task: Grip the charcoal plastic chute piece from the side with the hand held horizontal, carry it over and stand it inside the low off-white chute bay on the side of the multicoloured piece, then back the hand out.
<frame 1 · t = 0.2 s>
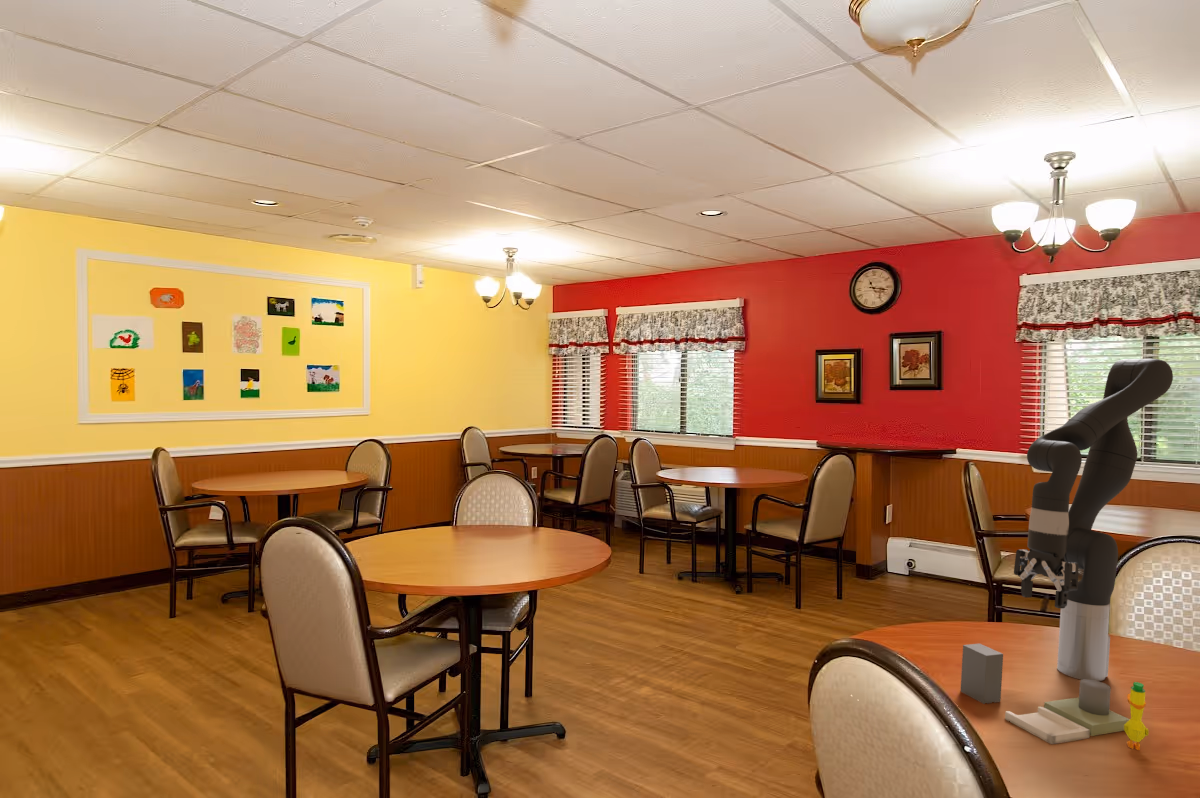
hand: (1042, 602, 161), 18 cm above the table, tool pointing down, fingers open, 8 cm apart
chute piece: (980, 696, 152), on the table
multicoloured piece: (1043, 727, 139), on the table
toy figure: (1133, 747, 133), on the table
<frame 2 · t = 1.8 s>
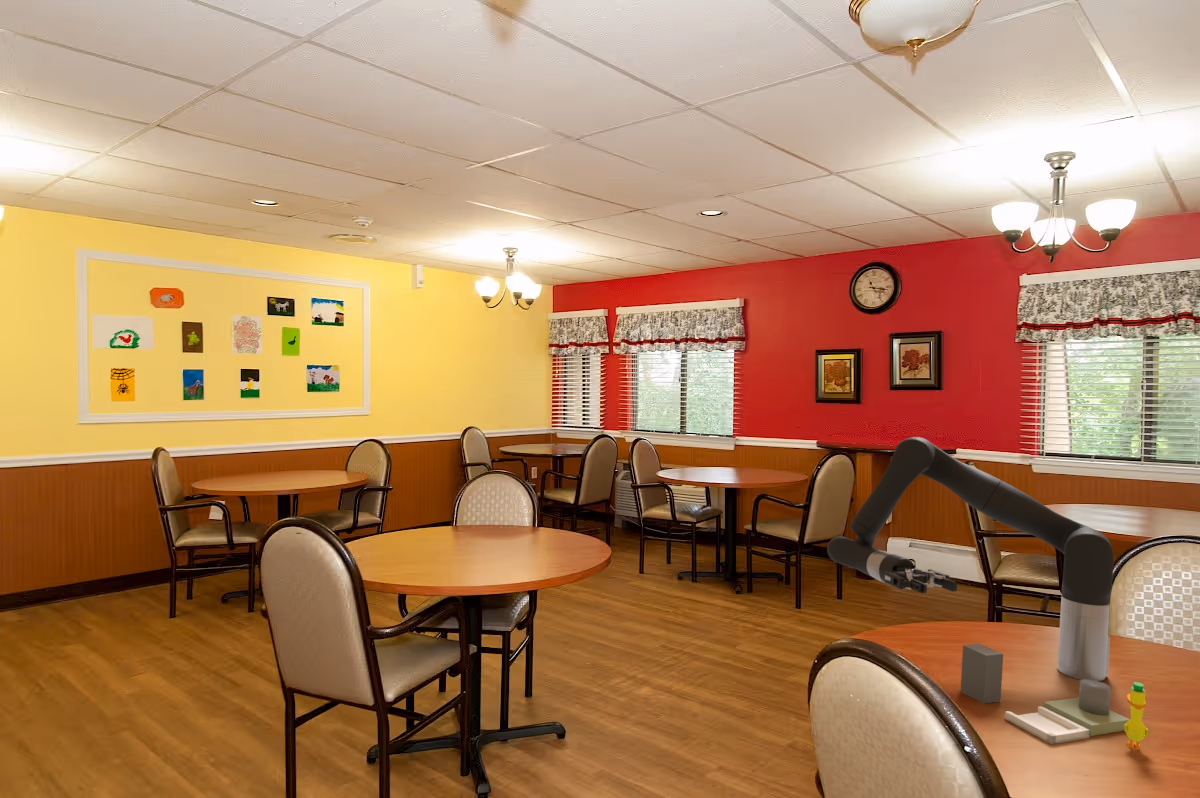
hand: (940, 588, 163), 19 cm above the table, tool horizontal, fingers open, 8 cm apart
nothing on the table moved.
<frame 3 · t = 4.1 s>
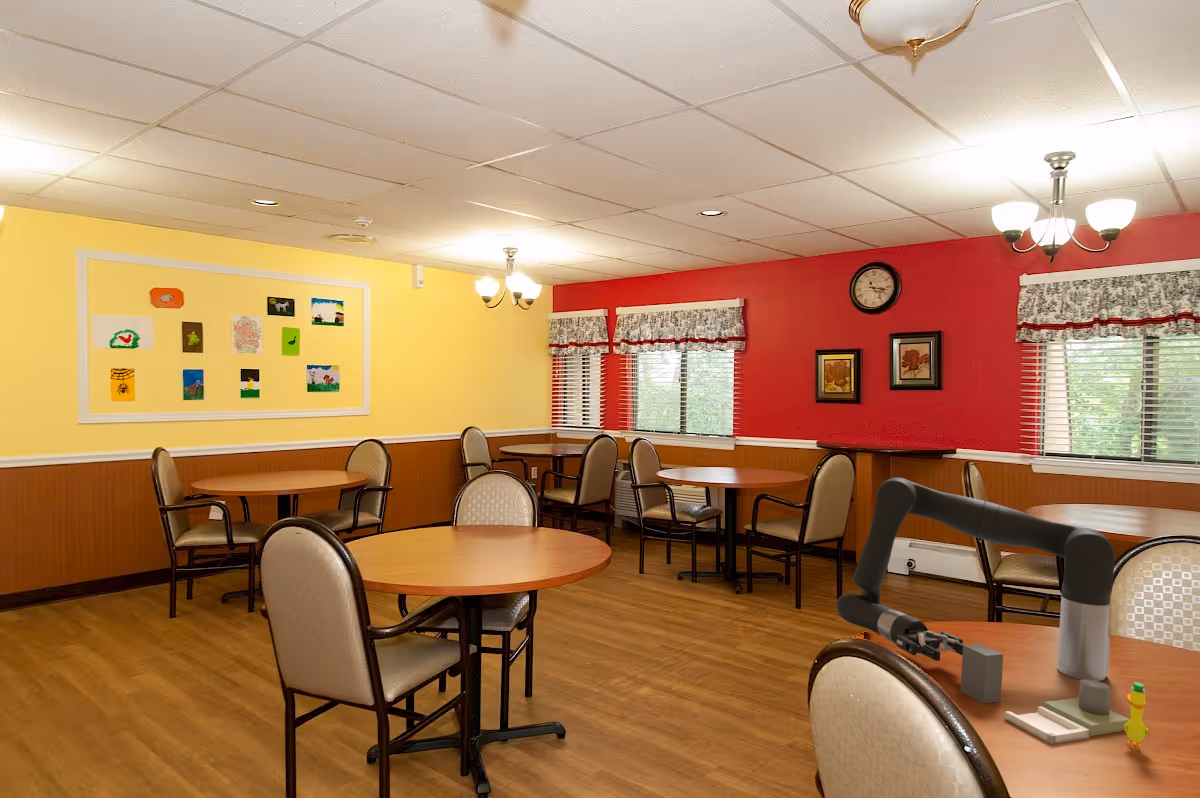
hand: (954, 654, 159), 6 cm above the table, tool horizontal, fingers open, 8 cm apart
nothing on the table moved.
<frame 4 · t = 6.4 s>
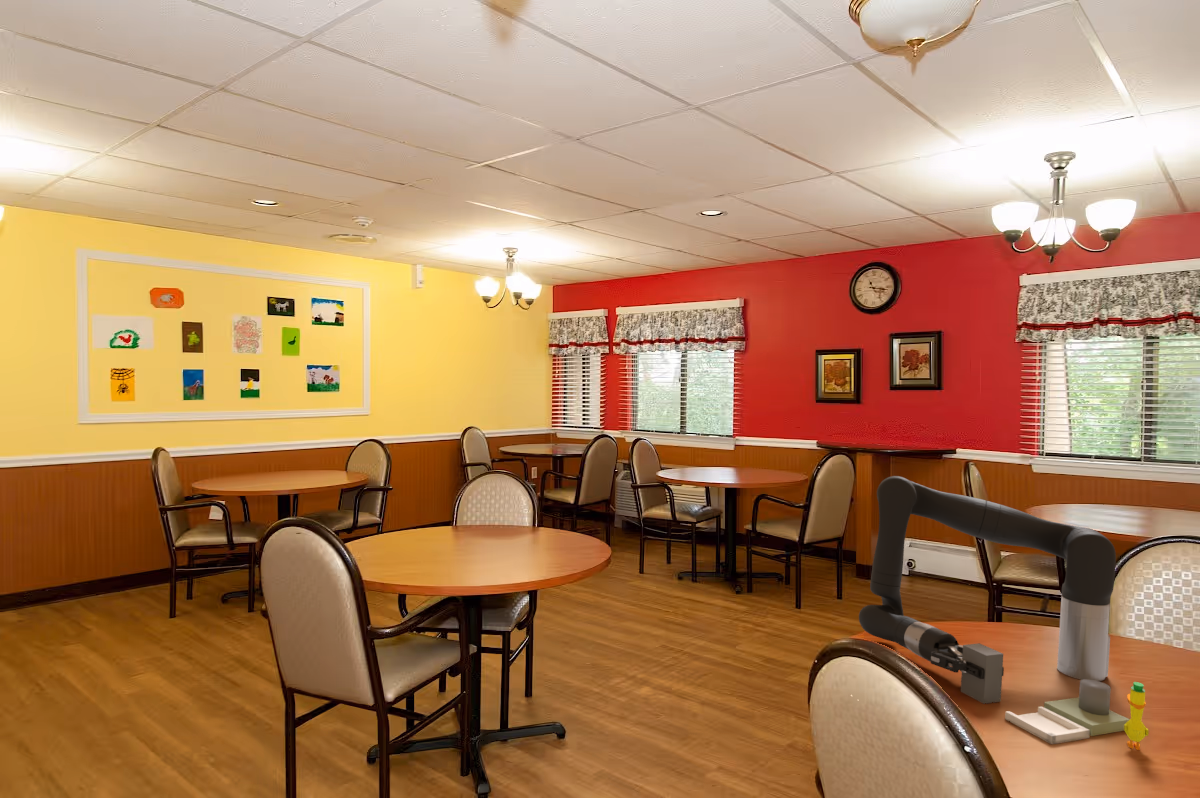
hand: (992, 673, 149), 6 cm above the table, tool horizontal, fingers closed on chute piece, 4 cm apart
chute piece: (980, 696, 152), on the table, touching gripper
everything else where it was.
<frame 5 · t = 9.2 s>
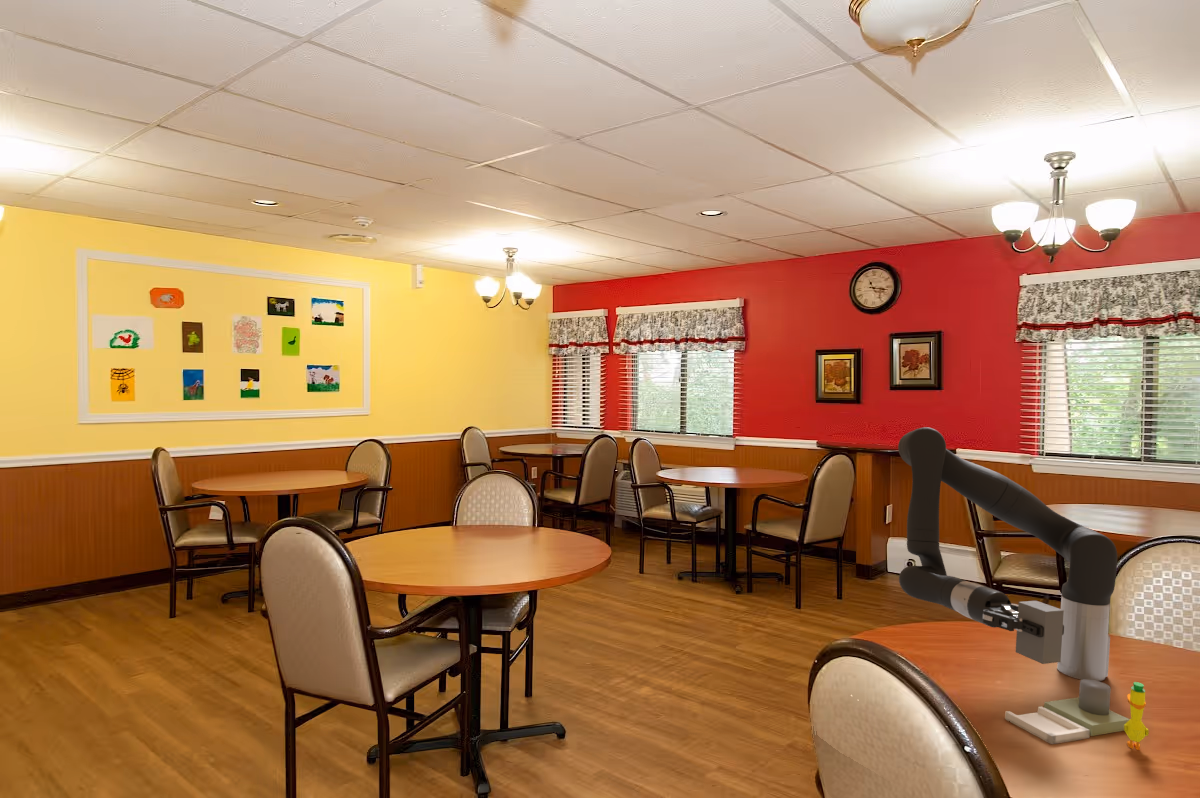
hand: (1052, 631, 138), 19 cm above the table, tool horizontal, fingers closed on chute piece, 4 cm apart
chute piece: (1037, 657, 140), point 13 cm above the table, touching gripper
everything else where it was.
when the fingers open (7 cm above the table, at t = 12.0 s): chute piece stays where it is, resting on multicoloured piece.
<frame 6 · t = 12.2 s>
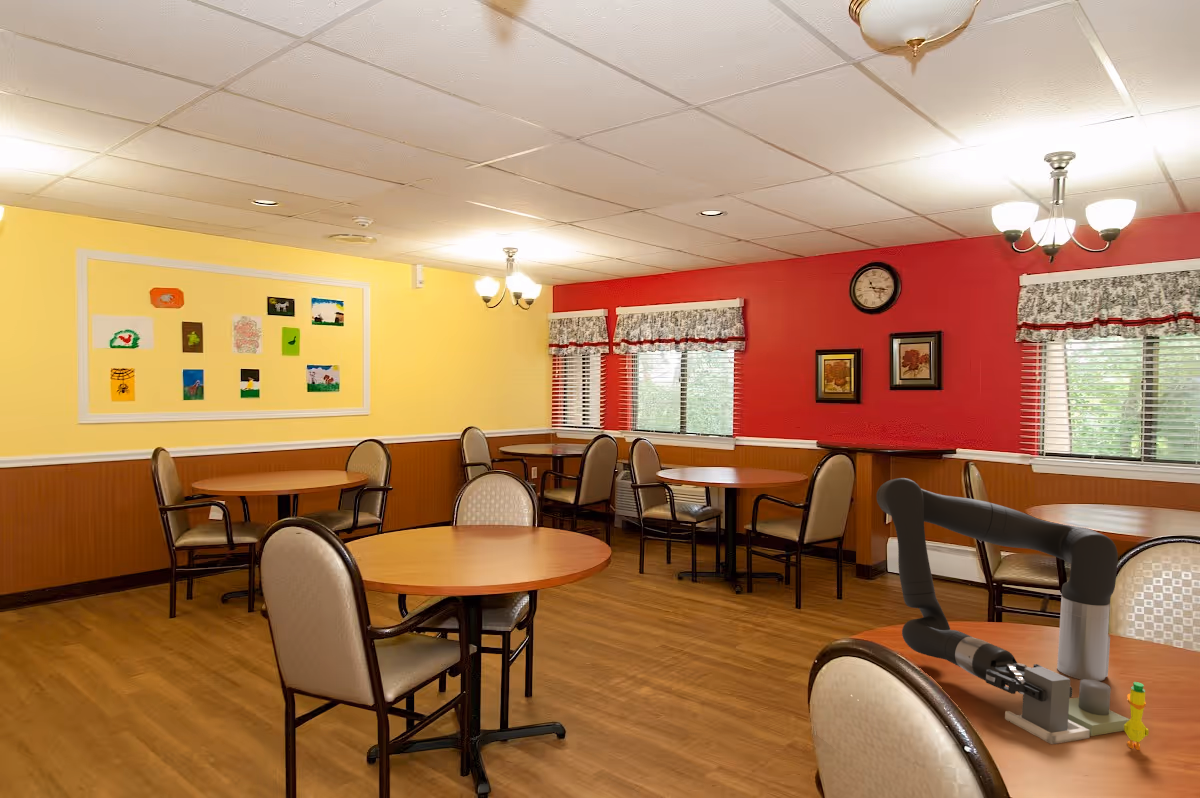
hand: (1057, 694, 136), 7 cm above the table, tool horizontal, fingers open, 6 cm apart
chute piece: (1044, 725, 139), resting on multicoloured piece
everything else where it was.
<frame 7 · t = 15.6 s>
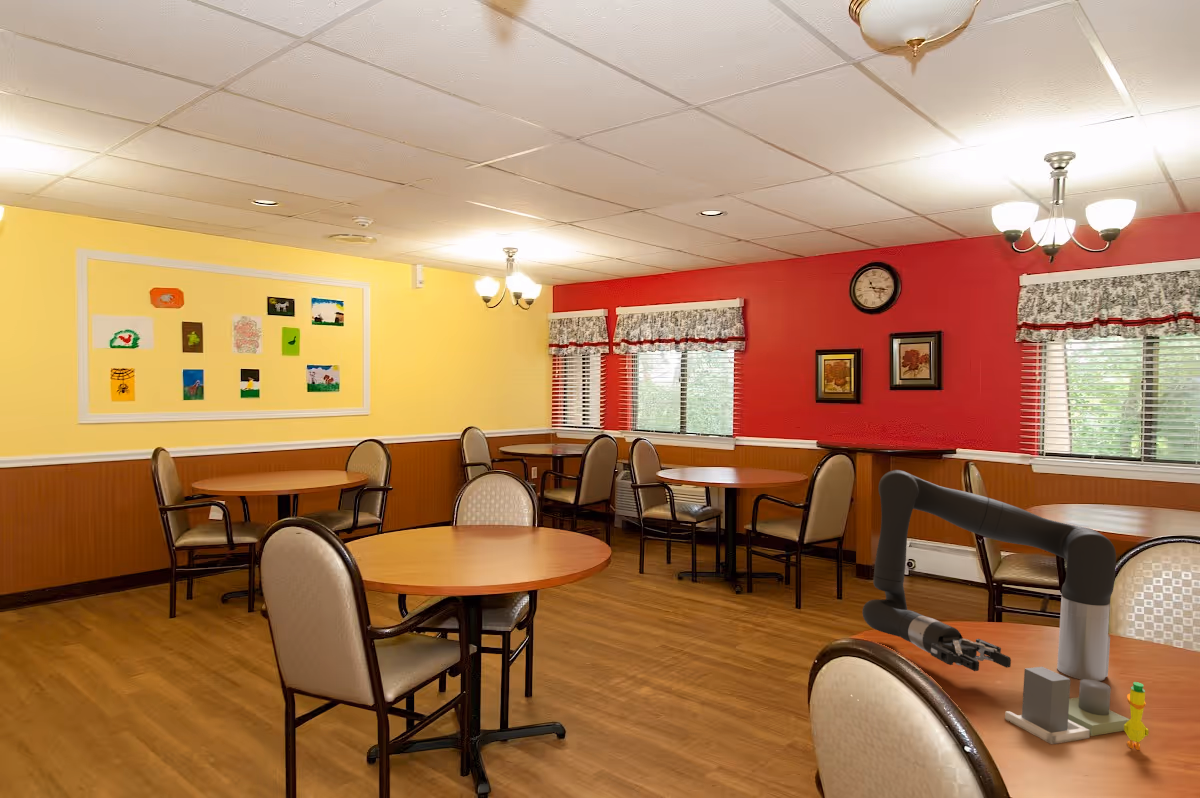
hand: (993, 664, 150), 7 cm above the table, tool horizontal, fingers open, 8 cm apart
nothing on the table moved.
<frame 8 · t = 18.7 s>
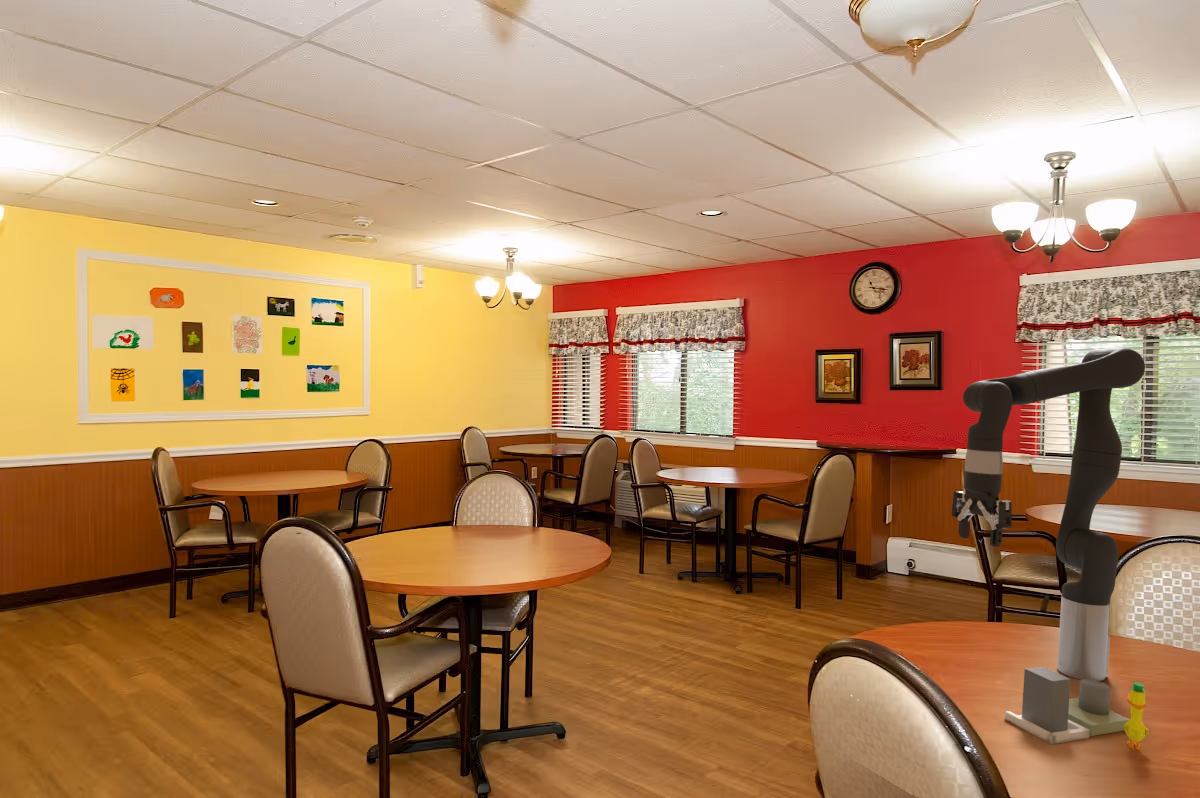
hand: (979, 541, 163), 30 cm above the table, tool pointing down, fingers open, 8 cm apart
nothing on the table moved.
at the end: chute piece 0.0 cm off-centre on the multicoloured piece, point 0.4 cm above the multicoloured piece's base; chute piece tilted 0°; the gripper is holding nothing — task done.
